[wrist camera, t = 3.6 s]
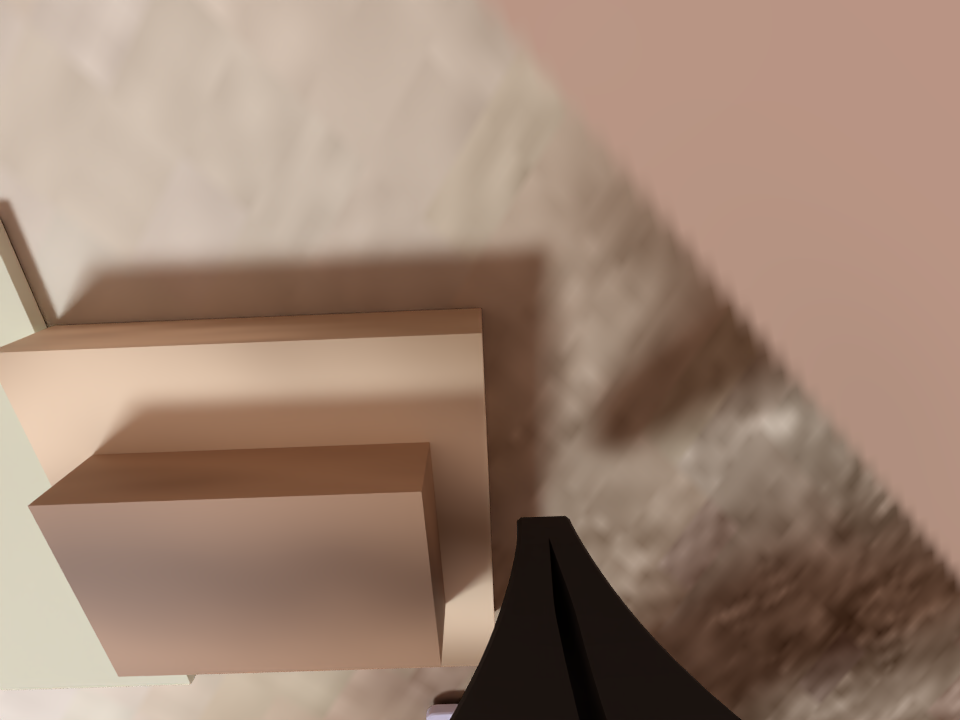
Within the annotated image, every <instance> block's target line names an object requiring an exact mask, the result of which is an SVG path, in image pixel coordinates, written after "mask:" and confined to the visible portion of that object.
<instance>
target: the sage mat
mask: <svg viewBox="0 0 960 720" xmlns="http://www.w3.org/2000/svg"><path fill="white" fill-rule="evenodd" d="M46 328H47V326H46V324H45V322H44V320H43V317H42V315H41V313H40V310H39V308H38V306H37V303H36V301H35V299H34V296H33V294H32V292H31V289H30V287H29V285H28V282H27V280H26V278H25V275H24V273H23V271H22V268H21V266H20V264H19V261H18V259H17V257H16V254H15V252H14V250H13V247H12V245H11V243H10V240H9V238H8V236H7V233H6V231H5V229H4V226H3V224H2V222H1V220H0V347H2V346H4V345H7V344H9V343H12V342H14V341H17V340H19V339H22V338H24V337H26V336H29V335H31V334H34V333H36V332H39V331H41V330H44V329H46ZM51 487H52V486H51V484H50V482H49V480H48V478H47V476H46V474H45V472H44V470H43V468H42V466H41V464H40V462H39V460H38V458H37V456H36V454H35V452H34V450H33V448H32V446H31V444H30V442H29V440H28V438H27V436H26V434H25V432H24V430H23V428H22V425H21V423H20V421H19V419H18V417H17V415H16V413H15V411H14V409H13V407H12V405H11V403H10V401H9V399H8V397H7V395H6V393H5V391H4V389H3V387H2V385H1V383H0V690H31V689H64V688H97V687H130V686H162V685H191V683H192V681H193V680H194V678H195V676H196V674H195V675H163V676H127V677H118V675H117V673H116V671H115V669H114V667H113V666H112V664H111V662H110V660H109V658H108V656H107V654H106V652H105V651H104V649H103V647H102V645H101V643H100V641H99V639H98V637H97V635H96V634H95V632H94V630H93V628H92V626H91V624H90V622H89V620H88V619H87V617H86V615H85V613H84V611H83V609H82V607H81V605H80V604H79V602H78V600H77V598H76V596H75V594H74V592H73V590H72V588H71V587H70V585H69V583H68V581H67V579H66V577H65V575H64V573H63V572H62V570H61V568H60V566H59V564H58V562H57V560H56V558H55V557H54V555H53V553H52V551H51V549H50V547H49V545H48V543H47V541H46V540H45V538H44V536H43V534H42V532H41V530H40V528H39V526H38V525H37V523H36V521H35V519H34V517H33V515H32V513H31V511H30V510H29V508H28V505H29V504H30V503H32V502H33V501H34V500H36V499H37V498H38V497H39V496H41V495H42V494H43V493H44V492H46V491H47V490H48V489H50V488H51Z"/></svg>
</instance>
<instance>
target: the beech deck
mask: <svg viewBox="0 0 960 720" xmlns="http://www.w3.org/2000/svg"><path fill="white" fill-rule="evenodd" d="M0 383H1V385H2V387H3V389H4V391H5V393H6V395H7V397H8V399H9V401H10V403H11V405H12V407H13V409H14V411H15V413H16V415H17V417H18V419H19V421H20V423H21V425H22V428H23V430H24V432H25V434H26V436H27V438H28V440H29V442H30V444H31V446H32V448H33V450H34V452H35V454H36V456H37V458H38V460H39V462H40V464H41V466H42V468H43V470H44V472H45V474H46V476H47V478H48V480H49V482H50V484H51V486H53V485H55V484H56V483H57V482H58V481H60V480H61V479H62V478H64V477H65V476H66V475H67V474H69V473H70V472H71V471H72V470H74V469H75V468H76V467H78V466H79V465H80V464H81V463H83V462H84V461H85V460H86V459H88V458H89V457H90V456H92V455H98V454H125V453H152V452H178V451H205V450H232V449H259V448H286V447H313V446H340V445H366V444H393V443H420V442H430V450H431V461H432V471H433V481H434V491H435V501H436V511H437V521H438V531H439V541H440V551H441V561H442V571H443V582H444V592H445V602H446V607H445V621H444V634H443V648H442V662H441V667H455V666H478V665H479V662H480V660H481V658H482V655H483V653H484V651H485V649H486V646H487V644H488V642H489V639H490V637H491V634H492V632H493V629H494V627H495V619H494V594H493V570H492V547H491V523H490V499H489V476H488V452H487V428H486V404H485V381H484V357H483V333H482V309H481V308H468V309H444V310H419V311H395V312H370V313H346V314H322V315H297V316H273V317H249V318H224V319H200V320H175V321H151V322H127V323H102V324H78V325H53V326H51V327H48V328H46V329H44V330H41V331H39V332H36V333H34V334H31V335H29V336H26V337H24V338H22V339H19V340H17V341H14V342H12V343H9V344H7V345H4V346H2V347H0ZM419 668H423V667H419ZM386 669H390V668H386ZM354 670H358V669H354ZM321 671H325V670H321ZM289 672H293V671H289ZM256 673H260V672H256ZM224 674H228V673H224ZM192 675H195V674H192ZM159 676H163V675H159Z"/></svg>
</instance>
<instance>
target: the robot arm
mask: <svg viewBox="0 0 960 720" xmlns="http://www.w3.org/2000/svg"><path fill="white" fill-rule="evenodd" d="M426 720H741V719H740V718H739V717H737V716H736V715H735V714H734V713H733V712H731V711H730V710H729V709H728V708H727V707H726V706H724V705H723V704H722V703H721V702H720V701H719V700H717V699H716V698H715V697H714V696H713V695H712V694H711V693H709V692H708V691H707V690H706V689H705V688H704V687H703V686H702V685H701V684H700V683H699V682H698V681H697V680H696V679H694V678H693V677H692V676H691V675H690V674H689V673H688V672H687V671H686V670H685V669H684V668H683V667H682V666H681V665H680V664H679V663H678V662H676V661H675V660H674V659H673V658H672V657H671V656H670V655H669V653H668V652H667V651H666V650H665V649H664V648H663V647H662V646H661V645H660V644H659V643H658V642H657V641H656V640H655V639H654V638H653V637H652V635H651V634H650V633H649V632H648V631H647V630H646V629H645V628H644V626H643V625H642V624H641V623H640V622H639V621H638V620H637V618H636V617H635V616H634V615H633V614H632V612H631V611H630V610H629V609H628V607H627V606H626V605H625V604H624V602H623V601H622V600H621V598H620V597H619V596H618V595H617V593H616V592H615V591H614V589H613V588H612V587H611V585H610V584H609V583H608V581H607V580H606V578H605V577H604V575H603V574H602V573H601V571H600V570H599V568H598V567H597V565H596V564H595V562H594V561H593V559H592V558H591V556H590V555H589V553H588V551H587V550H586V548H585V547H584V545H583V543H582V542H581V540H580V538H579V537H578V535H577V533H576V531H575V529H574V527H573V526H572V524H571V522H570V519H568V518H567V517H566V516H554V517H523V518H520V519H519V520H518V521H517V545H516V552H515V558H514V562H513V567H512V571H511V576H510V580H509V584H508V587H507V590H506V594H505V597H504V600H503V603H502V607H501V610H500V613H499V616H498V618H497V621H496V624H495V627H494V629H493V632H492V634H491V637H490V639H489V642H488V644H487V646H486V649H485V651H484V653H483V655H482V658H481V660H480V662H479V665H478V667H477V669H476V671H475V673H474V675H473V677H472V679H471V681H470V683H469V685H468V687H467V689H466V691H465V692H464V694H463V696H462V698H461V700H460V702H459V704H437V705H433V706H431V707H429V709H428V710H427V717H426Z"/></svg>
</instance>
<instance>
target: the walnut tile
mask: <svg viewBox="0 0 960 720" xmlns="http://www.w3.org/2000/svg"><path fill="white" fill-rule="evenodd" d="M28 508H29V510H30V511H31V513H32V515H33V517H34V519H35V521H36V523H37V525H38V526H39V528H40V530H41V532H42V534H43V536H44V538H45V540H46V541H47V543H48V545H49V547H50V549H51V551H52V553H53V555H54V557H55V558H56V560H57V562H58V564H59V566H60V568H61V570H62V572H63V573H64V575H65V577H66V579H67V581H68V583H69V585H70V587H71V588H72V590H73V592H74V594H75V596H76V598H77V600H78V602H79V604H80V605H81V607H82V609H83V611H84V613H85V615H86V617H87V619H88V620H89V622H90V624H91V626H92V628H93V630H94V632H95V634H96V635H97V637H98V639H99V641H100V643H101V645H102V647H103V649H104V651H105V652H106V654H107V656H108V658H109V660H110V662H111V664H112V666H113V667H114V669H115V671H116V673H117V675H118V677H127V676H159V675H192V674H224V673H256V672H289V671H321V670H354V669H386V668H419V667H441V662H442V648H443V634H444V621H445V607H446V602H445V592H444V582H443V571H442V561H441V551H440V541H439V531H438V521H437V511H436V501H435V491H434V481H433V471H432V461H431V450H430V442H420V443H393V444H366V445H340V446H313V447H286V448H259V449H232V450H205V451H178V452H152V453H125V454H98V455H92V456H90V457H89V458H88V459H86V460H85V461H84V462H83V463H81V464H80V465H79V466H78V467H76V468H75V469H74V470H72V471H71V472H70V473H69V474H67V475H66V476H65V477H64V478H62V479H61V480H60V481H58V482H57V483H56V484H55V485H53V486H52V487H51V488H50V489H48V490H47V491H46V492H44V493H43V494H42V495H41V496H39V497H38V498H37V499H36V500H34V501H33V502H32V503H30V504H29V505H28Z"/></svg>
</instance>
